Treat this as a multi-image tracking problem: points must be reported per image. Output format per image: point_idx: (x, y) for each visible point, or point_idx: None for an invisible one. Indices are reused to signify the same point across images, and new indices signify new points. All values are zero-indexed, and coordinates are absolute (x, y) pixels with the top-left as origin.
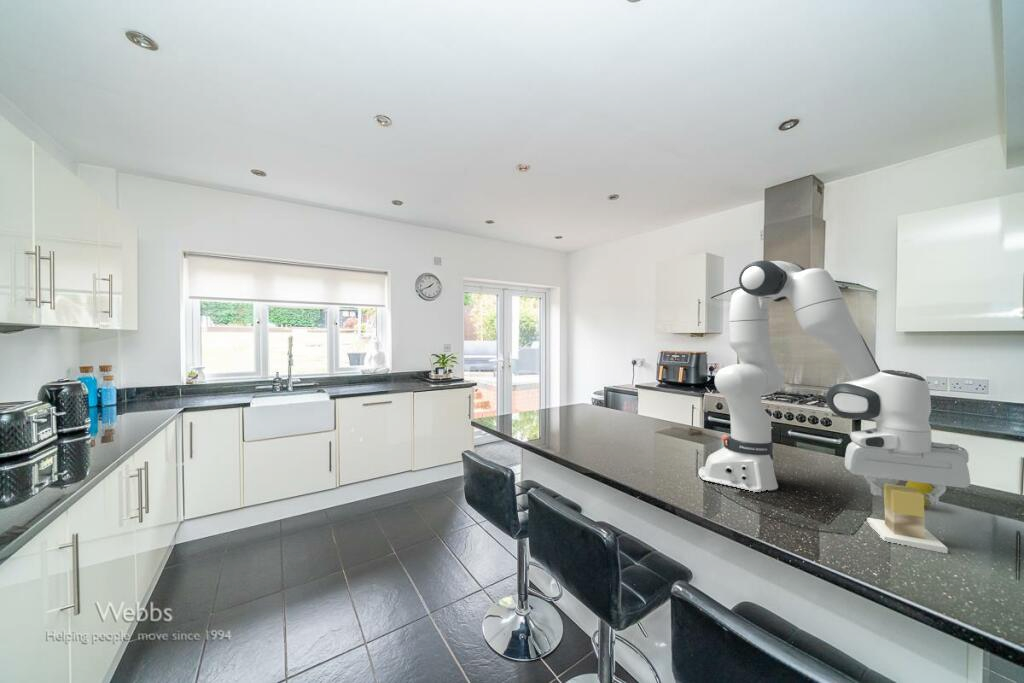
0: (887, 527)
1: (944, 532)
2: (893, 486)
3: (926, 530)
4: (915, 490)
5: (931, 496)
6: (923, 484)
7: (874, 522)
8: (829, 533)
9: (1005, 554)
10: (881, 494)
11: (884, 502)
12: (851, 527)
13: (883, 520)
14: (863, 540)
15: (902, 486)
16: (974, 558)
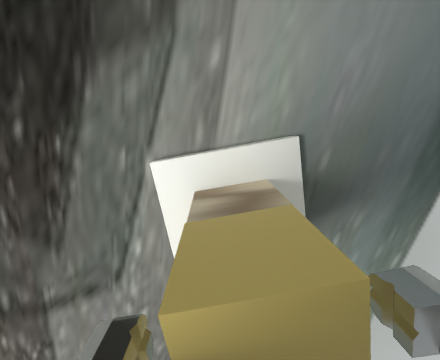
0: None
1: (351, 97)
2: (219, 352)
3: (298, 167)
4: (356, 356)
5: (417, 352)
6: None
7: (168, 196)
8: (70, 307)
9: (434, 174)
10: (150, 358)
11: (184, 229)
12: (115, 232)
13: (195, 157)
14: (141, 298)
15: (290, 311)
16: (350, 247)
